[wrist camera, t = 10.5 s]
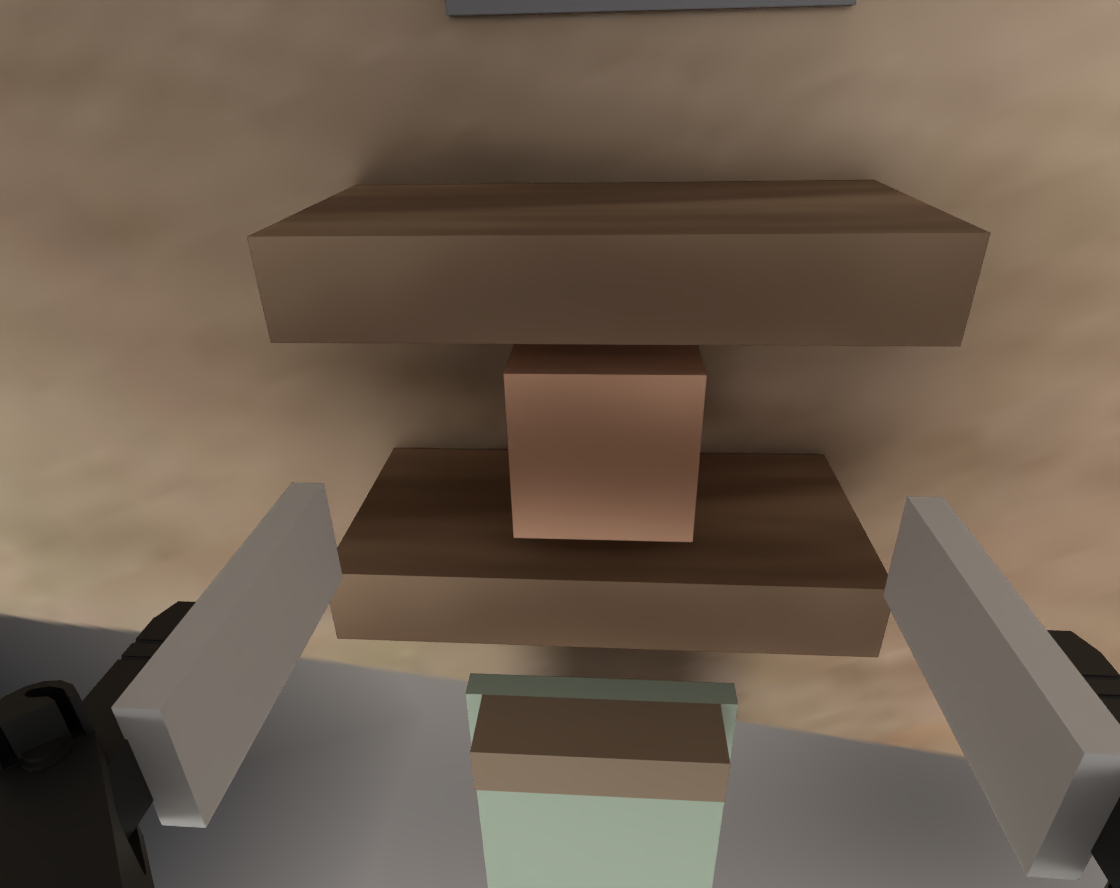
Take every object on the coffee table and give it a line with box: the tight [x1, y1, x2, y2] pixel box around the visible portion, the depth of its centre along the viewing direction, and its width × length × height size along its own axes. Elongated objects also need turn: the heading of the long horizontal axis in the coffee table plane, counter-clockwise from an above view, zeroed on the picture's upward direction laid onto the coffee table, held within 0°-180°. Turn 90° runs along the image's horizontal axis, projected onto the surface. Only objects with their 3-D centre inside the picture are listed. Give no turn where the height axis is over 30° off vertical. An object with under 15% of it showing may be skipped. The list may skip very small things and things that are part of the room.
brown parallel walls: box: [247, 180, 990, 657], centre depth 21 cm, size 12×16×8 cm
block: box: [504, 344, 707, 542], centre depth 22 cm, size 5×5×7 cm
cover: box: [466, 673, 738, 888], centre depth 23 cm, size 13×8×3 cm, turn 1°
